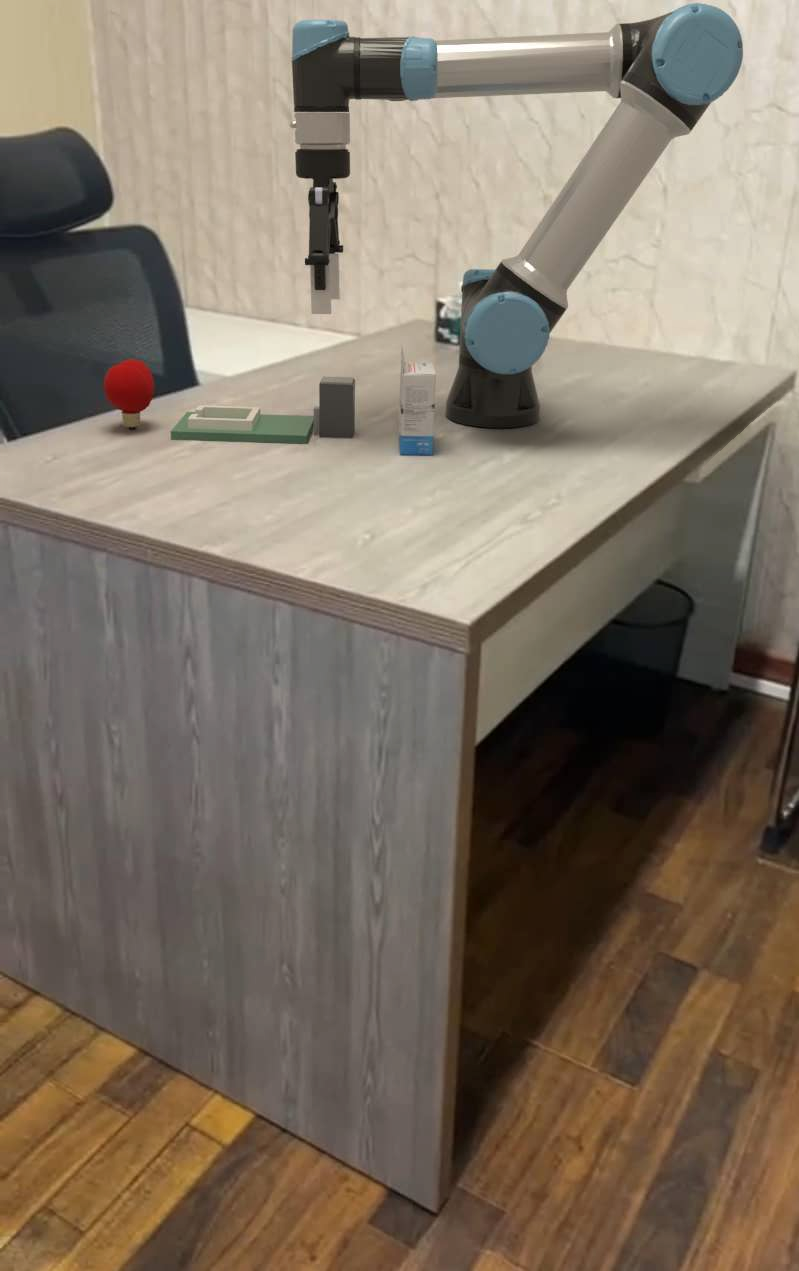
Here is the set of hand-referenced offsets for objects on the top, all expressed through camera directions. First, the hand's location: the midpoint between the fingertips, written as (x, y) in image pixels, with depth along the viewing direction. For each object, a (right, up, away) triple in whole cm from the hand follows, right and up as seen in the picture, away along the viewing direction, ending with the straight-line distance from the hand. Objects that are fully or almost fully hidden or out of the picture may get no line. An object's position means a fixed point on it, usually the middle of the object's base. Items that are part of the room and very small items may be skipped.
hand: (326, 306), depth 168 cm
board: (-13, -17, +8) cm, 22 cm away
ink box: (+13, -20, +2) cm, 24 cm away
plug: (+1, -17, +8) cm, 19 cm away
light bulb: (-30, -17, +8) cm, 35 cm away
